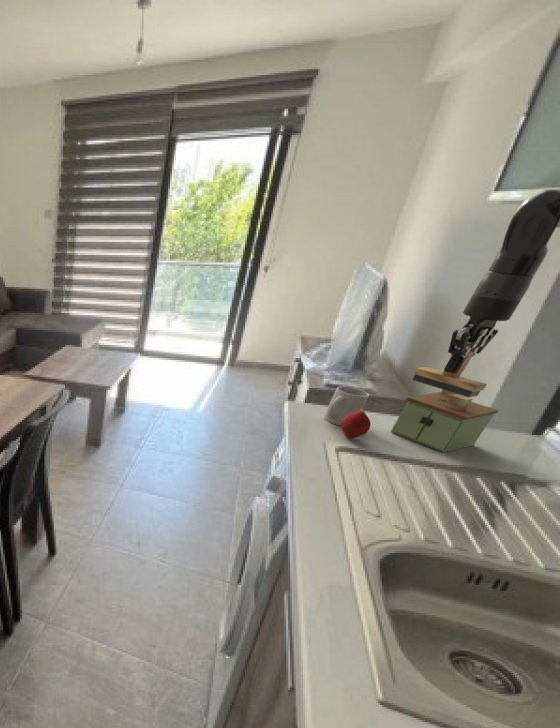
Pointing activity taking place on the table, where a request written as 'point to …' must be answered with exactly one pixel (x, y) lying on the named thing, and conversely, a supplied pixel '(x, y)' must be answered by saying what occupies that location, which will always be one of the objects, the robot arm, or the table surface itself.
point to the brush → (450, 380)
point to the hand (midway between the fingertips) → (452, 371)
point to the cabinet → (441, 422)
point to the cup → (345, 403)
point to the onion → (355, 424)
